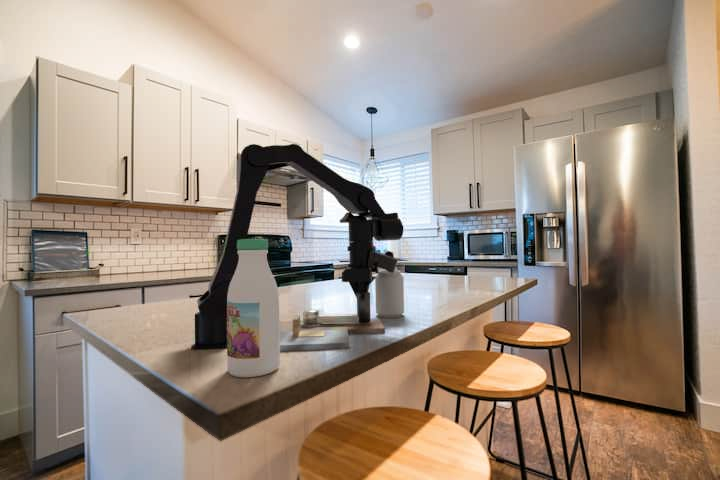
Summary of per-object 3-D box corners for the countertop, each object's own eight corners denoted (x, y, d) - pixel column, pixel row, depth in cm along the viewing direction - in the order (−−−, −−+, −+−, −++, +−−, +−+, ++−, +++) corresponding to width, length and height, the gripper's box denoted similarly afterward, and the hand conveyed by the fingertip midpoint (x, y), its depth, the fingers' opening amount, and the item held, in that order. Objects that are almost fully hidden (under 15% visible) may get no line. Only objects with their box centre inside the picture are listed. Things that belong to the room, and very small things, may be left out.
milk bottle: (263, 357, 58) (262, 239, 59) (289, 368, 53) (288, 238, 53) (218, 370, 53) (217, 239, 53) (242, 383, 47) (241, 238, 48)
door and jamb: (260, 351, 62) (259, 326, 62) (278, 325, 82) (278, 306, 82) (392, 346, 64) (392, 322, 64) (378, 322, 84) (378, 303, 84)
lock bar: (301, 324, 77) (301, 294, 77) (304, 320, 80) (304, 292, 80) (370, 323, 76) (370, 293, 76) (370, 319, 80) (370, 291, 80)
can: (403, 312, 95) (402, 269, 95) (404, 318, 88) (403, 271, 88) (376, 312, 96) (375, 269, 96) (375, 318, 88) (374, 271, 89)
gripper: (392, 241, 71) (395, 317, 71) (397, 240, 90) (398, 299, 90) (340, 243, 73) (342, 316, 73) (354, 241, 91) (356, 300, 92)
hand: (363, 307), depth 82 cm, fingers closed
